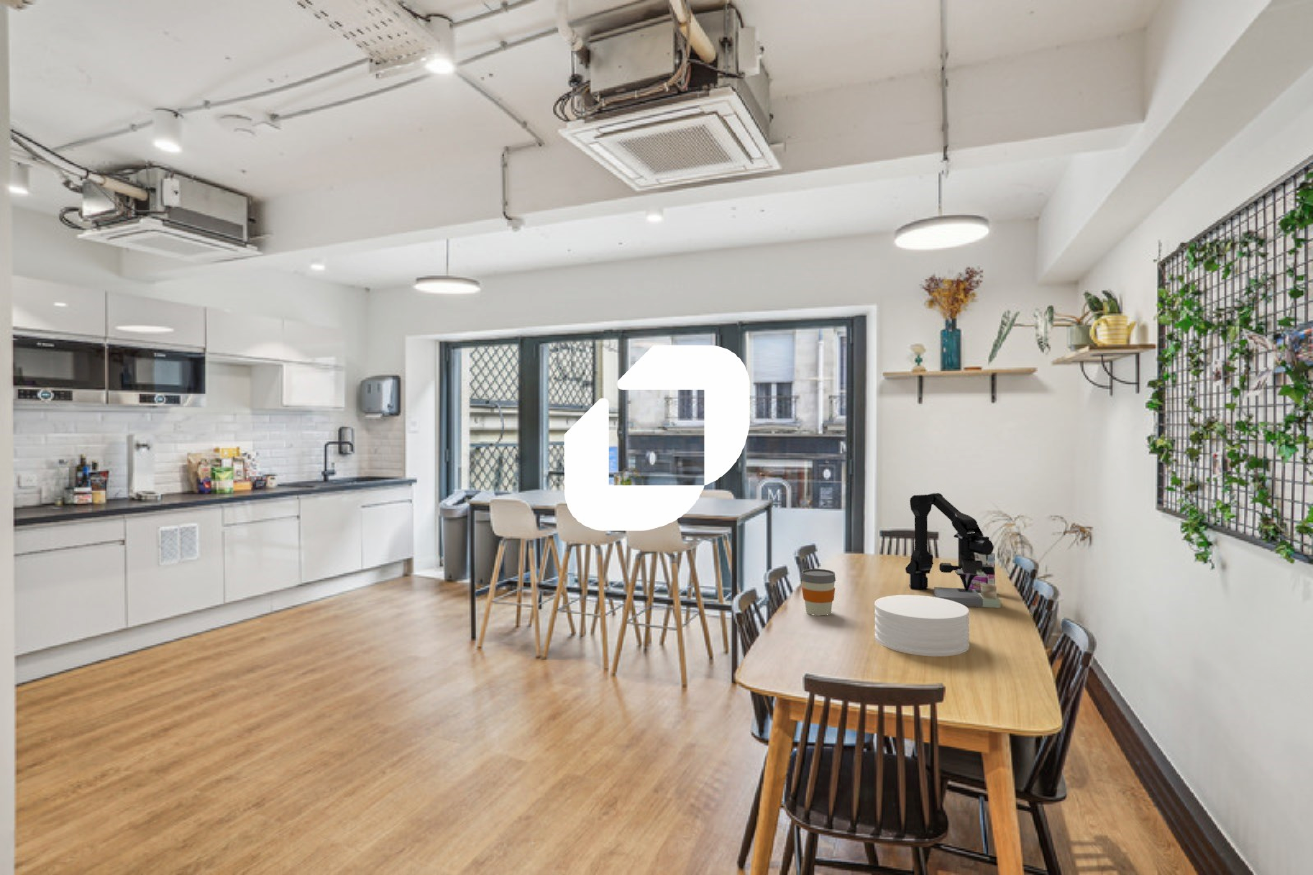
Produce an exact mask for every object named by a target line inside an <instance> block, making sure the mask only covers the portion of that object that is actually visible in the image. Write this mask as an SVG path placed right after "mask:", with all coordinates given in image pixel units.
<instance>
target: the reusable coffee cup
mask: <svg viewBox="0 0 1313 875" xmlns="http://www.w3.org/2000/svg"><path fill="white" fill-rule="evenodd" d="M800 580H801V583H802V586H801V590H802V598H803V600H804V605H805V613H806V612H807V613H806V614H808V615H810V614H814V615H827V614H830V615H831V614H832V607H833V602H834V601H835V600H834V599H835V592H836V587H835V583H836V572H835V571H833V570H829V569H823V568H822V569H821V568H809V569H803V570H801V575H800ZM814 615H813V616H814ZM827 616H828V615H827Z"/></svg>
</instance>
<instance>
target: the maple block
mask: <svg viewBox="0 0 1313 875" xmlns="http://www.w3.org/2000/svg"><path fill="white" fill-rule="evenodd" d="M981 595H982V597H983V598H996V599H997V597H998V595H997V586H996V584H995V585H994V584H984V583H981Z"/></svg>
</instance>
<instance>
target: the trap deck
mask: <svg viewBox="0 0 1313 875" xmlns="http://www.w3.org/2000/svg"><path fill="white" fill-rule="evenodd" d="M933 594H934V597H937V598H942V599H947V600H951V601H954V602H957V603H960V604H962V605H964V606H966V607H974V606H976V607H977V608H996V609H1001V599H1000V598H999V597H998V596H997V599H996V598H983V597H982V595H981V589H968V591H965V589H964V587H963V588H961V587H959V588H958V587H939V586H935V587H933ZM976 607H975V608H976Z"/></svg>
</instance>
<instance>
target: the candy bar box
mask: <svg viewBox="0 0 1313 875" xmlns="http://www.w3.org/2000/svg"><path fill="white" fill-rule="evenodd" d="M995 558H996V554H995V553H994V552H992V553H991V554H990V555H983V554H979V553H975V560H976V561H977V560H979V561H982V563H983V564H985V565H991V566H992V567H993V568H994V575H988V574H985V573H984V572H977V574H978V576H975V577H974V578H973V580H972V582H971V584H970V587H969V589H981V583H984V584H994V585H995V586H996V560H995ZM965 574H966V573H965ZM966 579H967V574H966Z"/></svg>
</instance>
